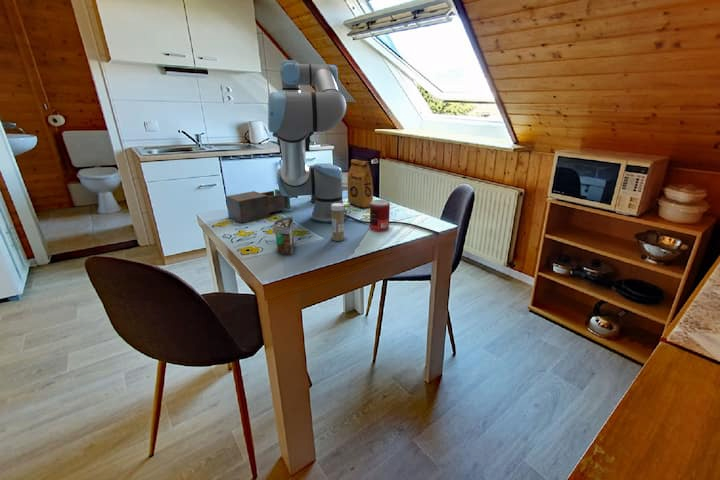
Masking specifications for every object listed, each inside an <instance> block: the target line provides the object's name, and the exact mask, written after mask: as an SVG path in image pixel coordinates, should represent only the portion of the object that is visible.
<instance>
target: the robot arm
mask: <svg viewBox="0 0 720 480" xmlns="http://www.w3.org/2000/svg"><path fill="white" fill-rule="evenodd" d="M279 68H280V71H279V76H280V79H281V91H272V92H270V93H269V94H268V99H267V128H268V129H267V130H268V131H269V133H272V137H274V138H276V139H277V142H276V143H277V146H278V147H279V154H281V161H282V166H281V167H280V168H278V169H277V171H276V181H277V185H278V190H279V191H280V193H281V194H282V195H283V196H289V197H291V196H298V197H303V196H305V197H306V196H307V197H308V196H311V195H315V197H316V202H315V203H314V205H313V210H312V212H311V219H312V220H313V221H315V222H318V223H323V224H324V223H325V224H330V223H331V224H332V210H331V205H332V204H334V203H342V204H343V205H344V210H343V219H344V221H345V220H346V219H347V218H348V219H351V220H352V221H355V222H358V223H361V224H362V223H363V224H370V220H369V221H368V220H362V219H357V218H354V217H352V216H350V215H348V213H347V211H346V207H345V204H344V201H343V179H344V178H343V170H342V168H341V167H340V166H337V165H336V164H335V165H334V164H331V163H314V168H310V167H309V166H308V165H307V163H306V160H307V159H306V152H310V150H311V148H310V144H311V137H312V136H313V135H314V134H315V133H323V132H327V131H329V130H332V129H333V128H335V127H336V126H337V125H338V124H340V122H341V121H342V120H343V118H344V117H345V114H346V111H347V102H346V99H345V96H344V94H343V93H342V92H341V91H340V90H339V88H338V86H337V84H338V81H339V80H338V79H339V74H338V73H339V71H338V66H337V65H335V64H329V63H327V64H321V63H320V64H319V63H318V64H317V63H315V64H312V63H311V64H310V63H299V62H298V61H297V60H291V59H284V60H281V62H280V67H279ZM301 86H315V91H301ZM389 224H398V225H405V226H411V227H415V228H418V229H421V230H425V231H426V232H430V233H433V234H437V235H439V234H440V232H439V231H437V230H434V229H430V228H428V227H425V226H424V227H423V226H421V225H417V224H414V223H409V222H405V221H390V220H389Z"/></svg>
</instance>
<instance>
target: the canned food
mask: <svg viewBox="0 0 720 480" xmlns="http://www.w3.org/2000/svg"><path fill="white" fill-rule="evenodd" d="M390 209H391V202H390V201H389V200H387V199H373V201H371V202H370V206H369V221H370V223H369V229H370V230H371V231H374V232H386V231H388V230H389V228H390V223H389V221H390V212H391V210H390Z"/></svg>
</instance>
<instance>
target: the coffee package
mask: <svg viewBox="0 0 720 480" xmlns="http://www.w3.org/2000/svg"><path fill="white" fill-rule="evenodd" d="M350 163H351V164H350V167H349V170H348V173H347V203H348V204H351V205H355V206H357V207H360V208H363V209H365V208H368V207H370V202H371V201H373V200H374V185H373V176H372V172H371V168H370V165H369V162H368V161H366V160H365V161H364V160H360V159H351V160H350Z"/></svg>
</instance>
